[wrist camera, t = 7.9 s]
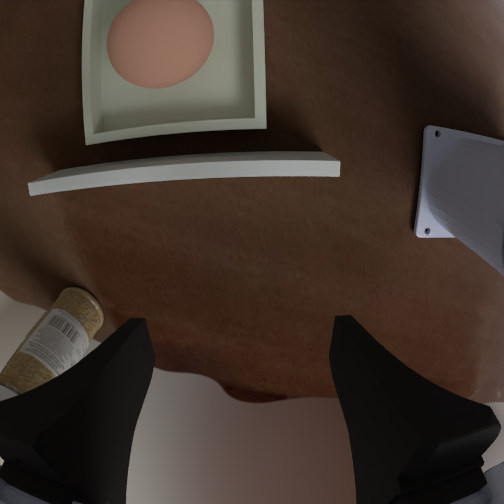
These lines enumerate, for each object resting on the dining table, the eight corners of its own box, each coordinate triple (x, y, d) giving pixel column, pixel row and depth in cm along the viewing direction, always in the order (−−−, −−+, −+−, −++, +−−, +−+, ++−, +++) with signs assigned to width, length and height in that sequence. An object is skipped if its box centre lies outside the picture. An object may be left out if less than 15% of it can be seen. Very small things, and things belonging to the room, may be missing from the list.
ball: (218, 4, 14) (207, -33, 9) (219, 87, 17) (208, 75, 12) (129, 17, 14) (91, -10, 9) (129, 97, 17) (88, 94, 12)
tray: (260, -28, 14) (261, -41, 12) (264, 127, 18) (266, 128, 16) (98, -3, 14) (85, -11, 12) (99, 141, 18) (85, 145, 16)
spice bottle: (52, 299, 23) (-31, 409, 11) (79, 275, 22) (-16, 398, 10) (85, 336, 25) (21, 455, 13) (116, 317, 24) (48, 452, 12)
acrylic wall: (323, 151, 19) (340, 161, 15) (322, 164, 19) (339, 176, 15) (60, 170, 19) (27, 183, 15) (61, 180, 19) (30, 195, 16)
